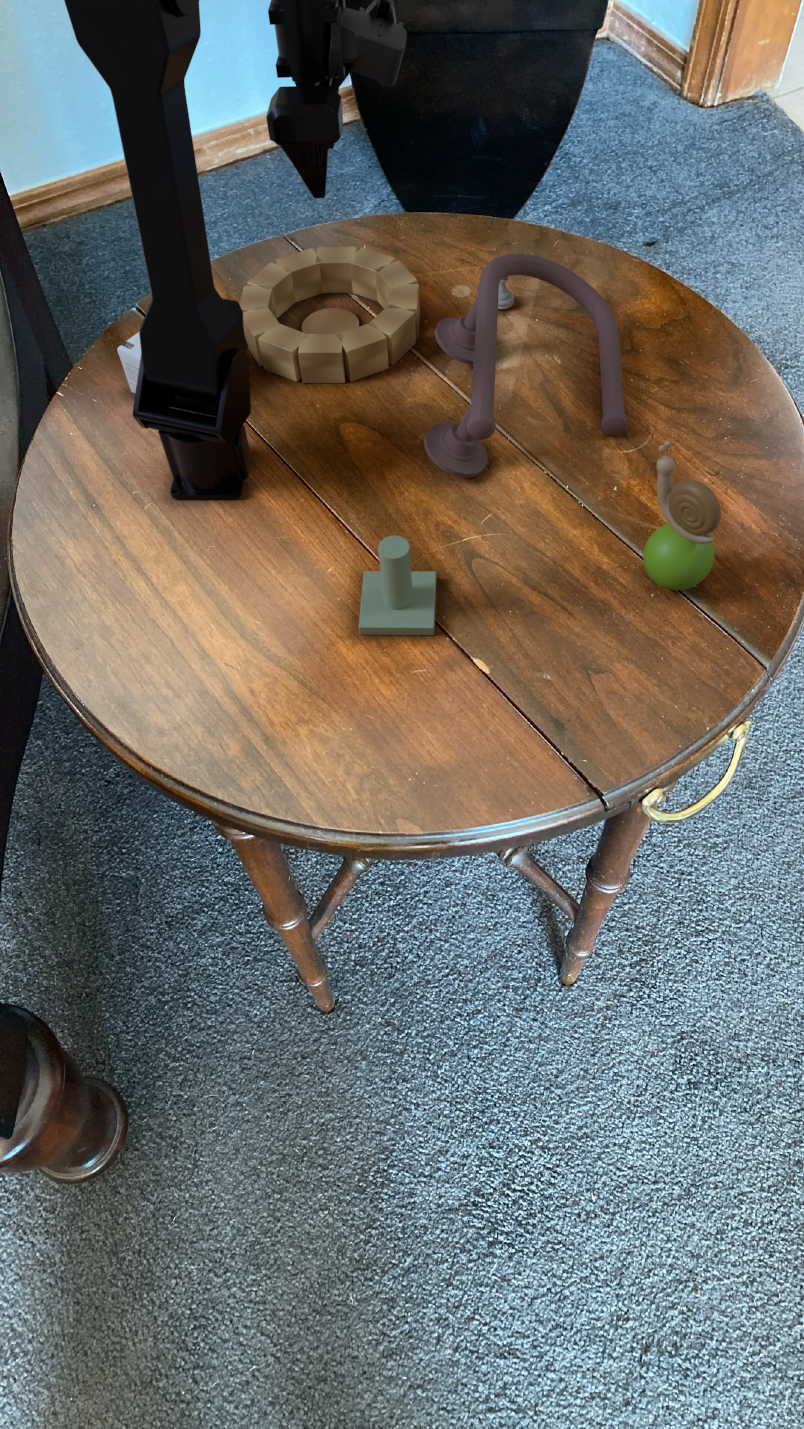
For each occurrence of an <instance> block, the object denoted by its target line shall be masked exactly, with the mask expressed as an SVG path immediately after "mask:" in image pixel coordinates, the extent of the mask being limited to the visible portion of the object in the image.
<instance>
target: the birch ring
mask: <svg viewBox="0 0 804 1429" xmlns="http://www.w3.org/2000/svg"><path fill="white" fill-rule="evenodd" d="M275 262H276V263H274V262H269V263H268V264H267V265H266V266H265V267H263V268H262V269H261V270H260V271H258V272H257V273H256V274H255V275H253V276H252V277H251V278H250V279H248V281H246V285H244V286H243V289H242V293H241V297H240V300H239V305H240V307H241V309H242V311H243V324H244V333H245V338H246V341H247V344H248V349H247V350H249V352H250V353H251V355H252V356H253V358H254V359H255V361H256V362H257V364H258V365H259V366H260V367H261V366H263V370H265V371H268V372H271V373H273V374H275V375H278V376H280V377H283V378H286V379H288V380H291V381H293V382H295V383H298V382H299V381H300V380H302V383H303V384H345V383H346V377H347V379H348V380H349V381H350V383H351V382H355V381H357V380H360V379H363V378H366V377H368V376H372V375H373V374H377V373H380V372H383V371H385V370H388V369H389V367H390V366H389V365H392V366H394V365H396V363H397V362H399V361H400V360H401V358H402V357H403V356H404V355H406V354H407V353H408V352H409V350H410V349H411V348H413V346H414V345H416V343H417V340H419V334H420V333H419V331H420V320H421V302H420V301H421V300H420V283H418V279H417V278H416V277H415V276H414V275H413V274H412V272H410V270H409V269H408V268H407V267H406V266H405V265H404V264H403V262H402V261H401V260H396V257H393V256H391V255H388V254H385V253H381V252H378V251H375V250H372V249H369V248H366V247H363V246H362V247H360V249H358V247H357V246H318V247H317V249H316V251H315V249H314V248H313V247H311V248H307V249H305V250H302V251H298V252H294V253H293V254H289V255H285V256H282V257H280V258H276V259H275ZM323 294H354V295H358V296H360V297H363V298H366V299H369V300H371V301H374V302H377V303H378V304H379V305H380V306H381V307H382V308H383V310H382V311H381V312H379V313H378V314H377V315H376V316H375V317H374V318H373V319H372V320H371V321H370V322H368V323H366V324H362V325H359V327H357V328H354V329H351V330H348V331H345V332H342V333H339V334H306V333H303V332H302V331H300V330H298V329H295V328H293V327H290V326H287V325H284V324H282V323H280V322H279V321H278V318H279V317H280V316H282V315H283V314H284V313H285V312H287V311H288V310H289V309H290V308H291V307H292V306H293V305H294V304H296V303H298V302H301V301H304V300H307V299H309V298H312V297H315V296H319V295H323Z"/></svg>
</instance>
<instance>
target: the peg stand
mask: <svg viewBox="0 0 804 1429" xmlns="http://www.w3.org/2000/svg"><path fill="white" fill-rule="evenodd" d="M377 550H378V559H379V570H364V571H363V576H362V587H361V596H360V608H359V616H358V617H359V618H358V633H359V635H360V636H434V635H435V624H436V599H437V598H436V597H437V596H436V595H437V571H435V570H427V571H424V570H423V571H422V570H413V571H412V560H411V545H410V543H409V540H408V539H407V538H405V537H403V536H401V535H388V536H386V537H384V538H382V540H380V541H379V544H378V547H377Z"/></svg>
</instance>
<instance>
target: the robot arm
mask: <svg viewBox="0 0 804 1429" xmlns="http://www.w3.org/2000/svg"><path fill="white" fill-rule="evenodd" d="M63 1H64V6H65V8H66V12H67V14H68V18H69V21H70V24H71V27H72V30H73V34H74V37H75V40H76V42H77V44H78V46H79V47H80V49H81V51H83V53H84V54H85V56H86V57H87V58H88V60H89V61H90V62H91V64H92V65H93V67H94V68H95V70H96V71H97V72H98V74H99V75H100V76H101V78H102V79H103V81H104V82H105V84H106V85H107V86H108V88H109V90H110V94H111V97H112V102H113V108H114V111H115V117H116V123H117V127H118V132H119V137H120V142H121V148H122V153H123V158H124V162H125V168H126V173H127V178H128V183H129V187H130V192H131V198H132V203H133V208H134V213H135V218H136V223H137V227H138V228H137V229H138V232H139V233H138V234H139V238H140V239H139V240H140V244H141V248H142V253H143V258H144V263H145V267H146V273H147V278H148V284H149V288H150V295H151V300H150V303H149V305H148V308H147V311H146V313H145V315H144V318H143V320H142V323H141V324H140V327H139V331H138V332H139V335H140V344H141V359H140V366H139V372H138V379H137V386H136V393H134V399H133V408H132V417H133V419H134V420H135V421H136V423H138V425H139V426H140V427H141V429H145V430H146V429H147V430H148V429H151V430H157V431H158V437H159V439H160V442H161V445H162V449H163V451H164V454H165V459H166V461H167V464H168V468H169V470H170V472H171V476H172V482H171V487H170V491H169V493H170V497H171V498H172V499H175V500H194V499H195V500H199V499H200V500H237V499H240V498H241V497H242V496H243V492H244V487H245V482H246V480H248V478H249V477H250V472H251V468H252V463H253V457H252V453H251V448H250V444H249V439H248V436H247V431H246V427H245V422H247V420H248V419H249V416H251V412H252V403H251V401H252V400H251V399H252V398H251V363H250V357H249V355H248V353H247V350H249V349H248V344H247V341H246V338H245V333H244V324H243V311H242V309H241V307H240V305H239V304H240V302H239V301H238V300H235V299H234V300H233V299H230V298H229V299H228V298H222V296H221V295H220V294H219V292H218V290H217V289H216V287H215V283H214V282H215V281H214V276H213V269H212V262H211V255H210V248H209V242H208V234H207V229H206V222H205V215H204V208H203V202H202V195H201V188H200V182H199V176H198V166H197V160H196V155H195V148H194V141H193V134H192V128H191V120H190V114H189V113H190V112H189V107H188V100H187V93H186V85H185V79H186V75H187V73H188V70H189V68H190V66H191V62H192V60H193V56H194V54H195V53H196V49H197V47H198V44H199V41H200V40H201V31H202V29H201V28H202V27H201V14H200V12H201V11H200V0H63ZM267 14H268V21H269V25H270V26H271V25H272V26H274V31H275V38H276V45H277V53H278V55H277V58H276V63H275V70H276V77H277V78H278V79H281V78H282V79H283V78H291V81H292V82H293V83H294V85H295V86H294V85H291V86H279V87H278V89H277V90H276V91H275V93H274V94H273V95H272V97H271V98H270V101H269V104H268V105H269V106H268V109H267V113H266V115H265V116H266V118H265V119H266V125H267V131H268V136H269V137H268V138H269V141H272V143H275V144H276V145H277V146H279V147H280V148H281V149H282V150H283V152H284V154H285V156H287V158H288V159H289V161H290V162H291V164H292V165H293V167H294V168H295V170H296V172H297V173H298V175H299V176H300V178H301V179H302V181H303V183H304V184H305V186H306V188H307V189H308V191H309V192H310V194H311V196H312V197H313V198H314V199H325V197H326V194H327V193H326V192H327V179H328V164H329V163H328V162H329V150H332V149H334V147H335V144H336V143H338V142H339V140H341V137H342V134H343V127H344V126H343V125H344V122H343V121H344V117H343V116H344V114H343V113H344V112H343V111H344V110H343V100H342V99H343V98H342V95H341V94H340V87H341V86H342V84H343V83H344V82H345V80H346V79H347V78H348V76H350V74H351V73H355V74H358V75H361V76H363V77H366V78H369V79H371V80H374V81H377V82H378V84H379V85H380V86H381V85H382V86H384V87H388V88H389V87H391V88H392V87H394V86H395V85H396V82H397V80H398V79H397V78H398V76H399V75H398V74H399V71H400V69H401V64H402V61H403V57H404V53H405V50H406V43H407V34H408V32H407V30H406V29H405V28H404V22H402V21H398V23H397V16H396V8H395V2H394V0H373V1H372V2H371V3H370V4H369V5H368V7H367V8H366V9H365V8H364V7H362V6H359V10H356V9H353V8H349V7H346V0H270V3H269V6H268V9H267Z"/></svg>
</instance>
